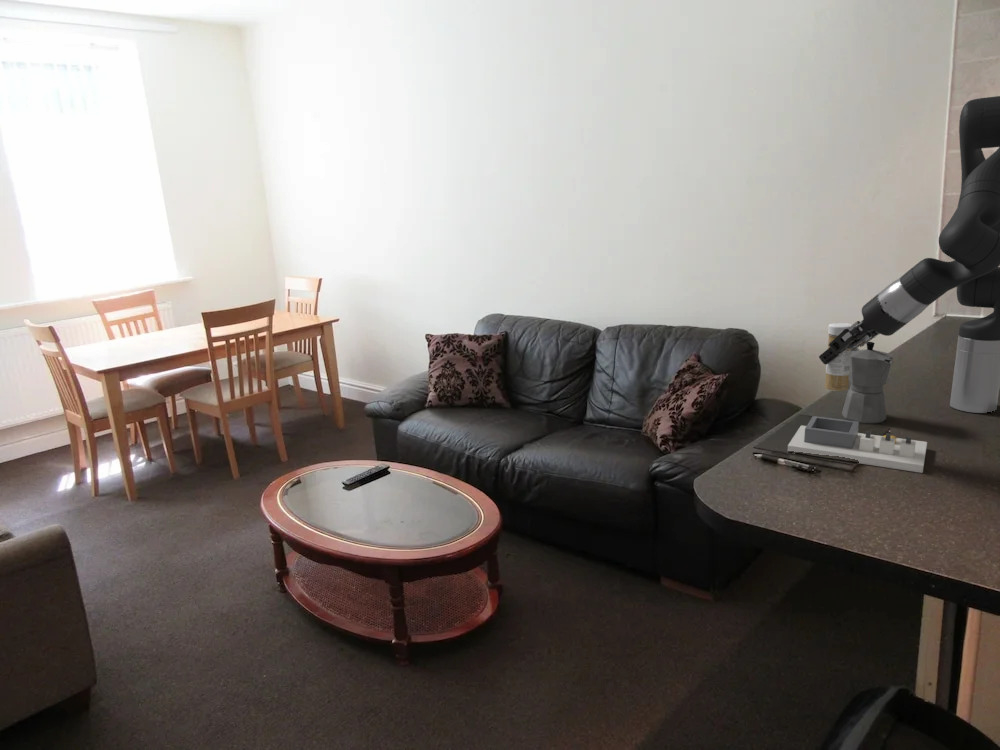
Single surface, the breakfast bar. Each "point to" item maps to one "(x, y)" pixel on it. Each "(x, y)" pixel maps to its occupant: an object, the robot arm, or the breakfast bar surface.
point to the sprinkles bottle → (838, 362)
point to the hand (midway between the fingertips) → (829, 358)
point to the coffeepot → (867, 385)
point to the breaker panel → (858, 444)
